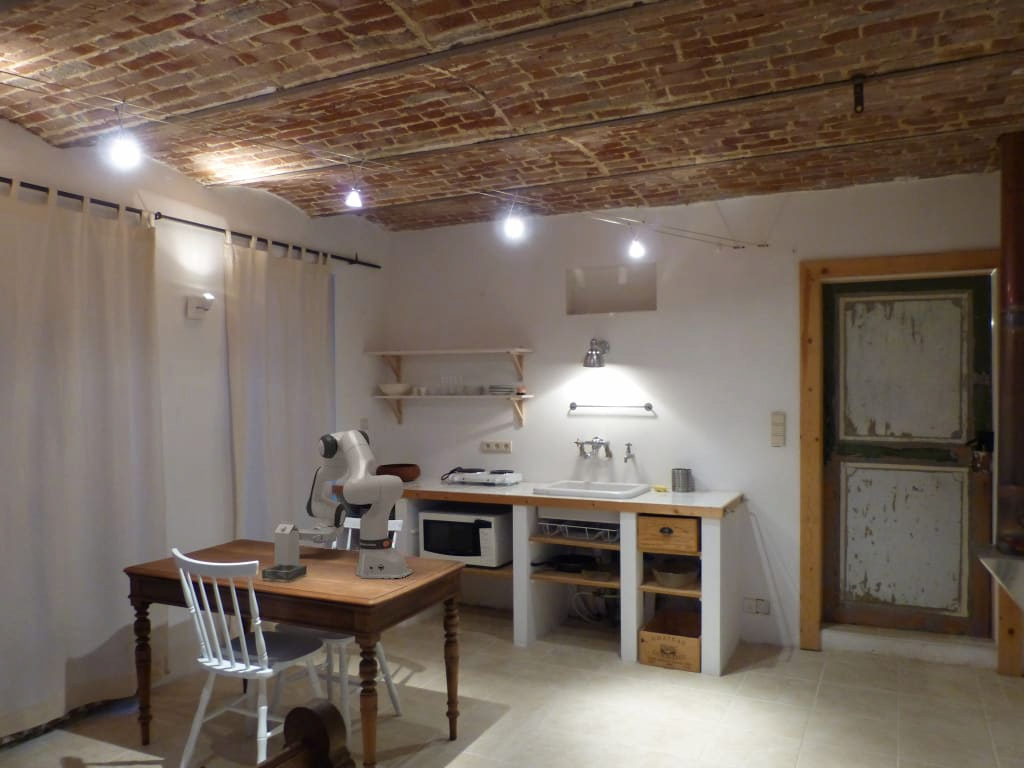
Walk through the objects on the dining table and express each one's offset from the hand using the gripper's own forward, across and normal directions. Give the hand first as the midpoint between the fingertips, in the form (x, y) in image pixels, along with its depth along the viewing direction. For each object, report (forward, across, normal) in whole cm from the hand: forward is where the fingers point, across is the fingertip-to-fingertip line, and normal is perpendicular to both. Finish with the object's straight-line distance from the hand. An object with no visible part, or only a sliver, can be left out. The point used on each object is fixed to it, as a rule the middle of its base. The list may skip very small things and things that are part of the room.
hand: (302, 538), depth 329 cm
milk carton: (+12, 0, +10) cm, 16 cm away
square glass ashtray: (+29, +10, +10) cm, 32 cm away
